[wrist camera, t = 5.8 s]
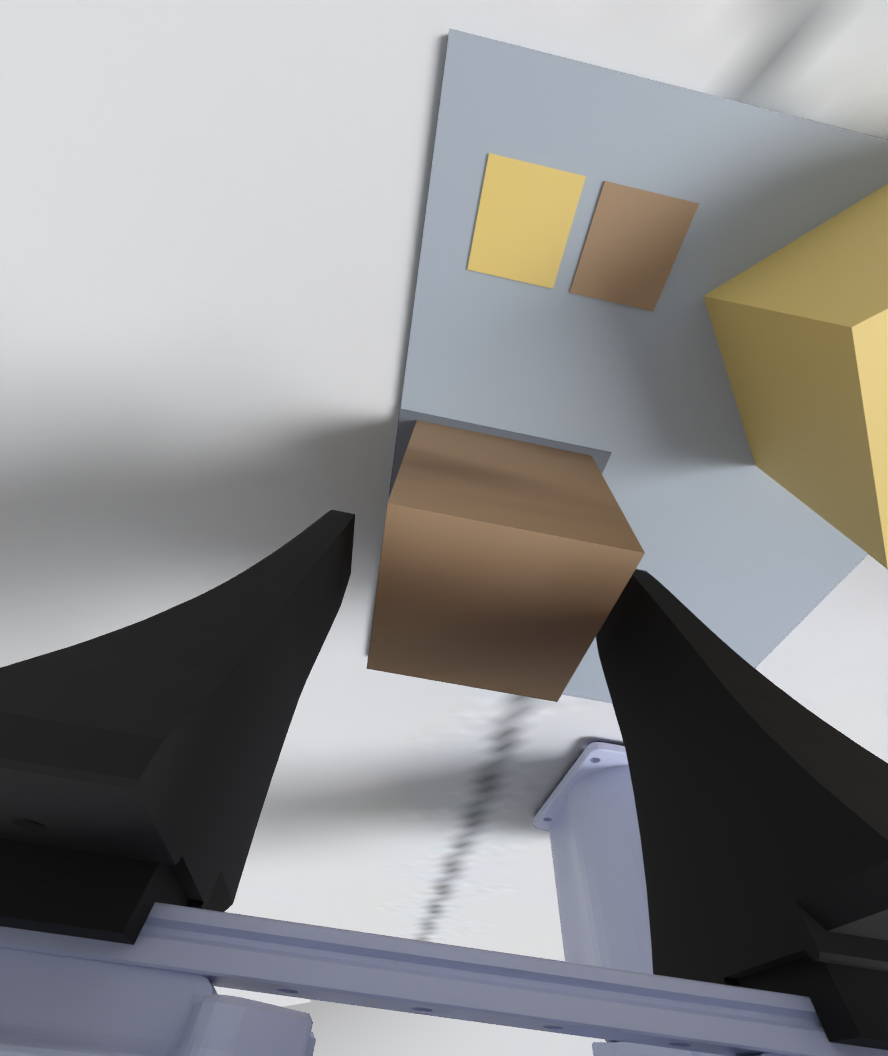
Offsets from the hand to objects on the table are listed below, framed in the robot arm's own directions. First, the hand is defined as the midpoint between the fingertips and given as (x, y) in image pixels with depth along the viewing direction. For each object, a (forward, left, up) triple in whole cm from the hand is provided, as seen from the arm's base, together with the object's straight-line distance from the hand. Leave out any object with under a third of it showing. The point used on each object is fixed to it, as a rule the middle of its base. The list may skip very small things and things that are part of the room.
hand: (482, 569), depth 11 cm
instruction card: (+1, -4, -3) cm, 5 cm away
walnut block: (0, 0, -2) cm, 2 cm away
